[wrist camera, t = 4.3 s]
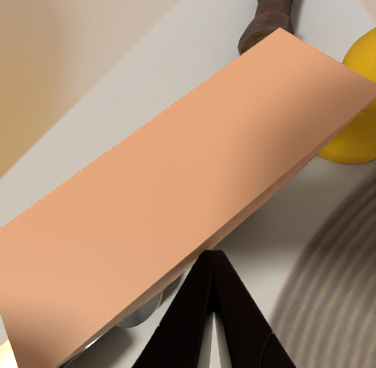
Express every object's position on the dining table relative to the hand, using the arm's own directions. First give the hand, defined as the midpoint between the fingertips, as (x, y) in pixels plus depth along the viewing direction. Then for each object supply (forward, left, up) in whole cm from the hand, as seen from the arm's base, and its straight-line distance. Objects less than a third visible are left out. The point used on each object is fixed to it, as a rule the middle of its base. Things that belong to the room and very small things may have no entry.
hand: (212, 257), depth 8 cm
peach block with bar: (-2, +6, -7) cm, 9 cm away
